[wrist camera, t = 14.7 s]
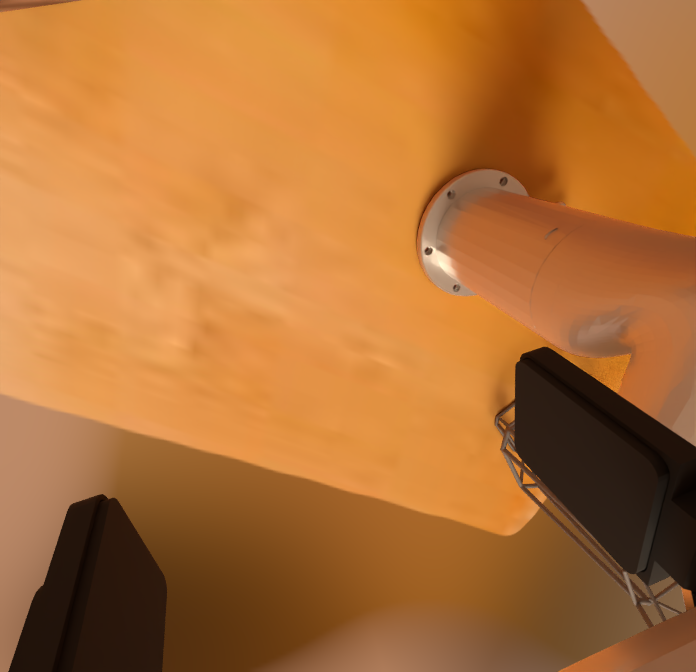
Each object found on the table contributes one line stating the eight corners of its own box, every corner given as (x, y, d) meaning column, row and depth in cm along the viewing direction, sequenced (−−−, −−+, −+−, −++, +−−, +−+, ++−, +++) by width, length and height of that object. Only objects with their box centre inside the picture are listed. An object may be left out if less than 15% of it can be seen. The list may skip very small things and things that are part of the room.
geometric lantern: (561, 344, 56) (981, 613, 27) (587, 418, 65) (928, 684, 35) (459, 418, 56) (765, 767, 27) (498, 482, 65) (764, 801, 35)
